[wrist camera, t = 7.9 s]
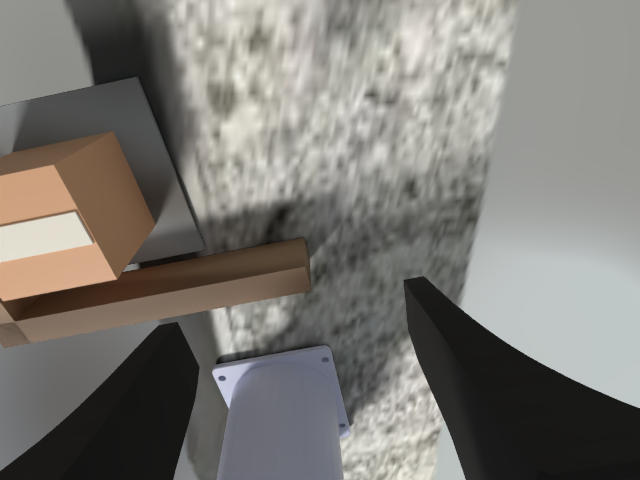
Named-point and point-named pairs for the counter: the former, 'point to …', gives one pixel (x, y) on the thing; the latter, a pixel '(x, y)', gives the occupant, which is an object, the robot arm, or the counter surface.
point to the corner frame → (164, 240)
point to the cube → (68, 216)
